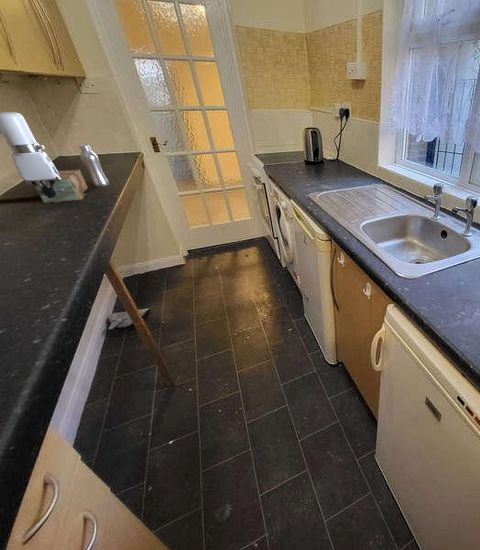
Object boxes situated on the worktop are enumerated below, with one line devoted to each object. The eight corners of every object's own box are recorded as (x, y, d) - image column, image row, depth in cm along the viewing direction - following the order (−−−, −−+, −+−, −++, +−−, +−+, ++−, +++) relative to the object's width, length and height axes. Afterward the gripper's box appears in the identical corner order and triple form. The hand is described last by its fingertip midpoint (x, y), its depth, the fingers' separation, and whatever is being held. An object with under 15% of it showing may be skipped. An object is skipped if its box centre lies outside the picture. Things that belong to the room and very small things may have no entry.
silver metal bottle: (96, 191, 143) (76, 146, 133) (94, 188, 147) (73, 145, 136) (113, 188, 147) (94, 145, 137) (109, 186, 151) (91, 143, 140)
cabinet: (81, 199, 131) (70, 176, 126) (44, 203, 126) (30, 179, 121) (89, 191, 142) (79, 169, 137) (55, 194, 137) (43, 172, 132)
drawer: (74, 201, 126) (64, 182, 122) (39, 205, 122) (27, 184, 117) (86, 190, 140) (77, 172, 136) (54, 193, 135) (44, 175, 131)
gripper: (55, 146, 117) (78, 192, 127) (3, 148, 111) (31, 196, 121) (48, 149, 112) (72, 197, 121) (-7, 151, 106) (23, 202, 115)
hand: (52, 197), depth 121 cm, fingers closed
